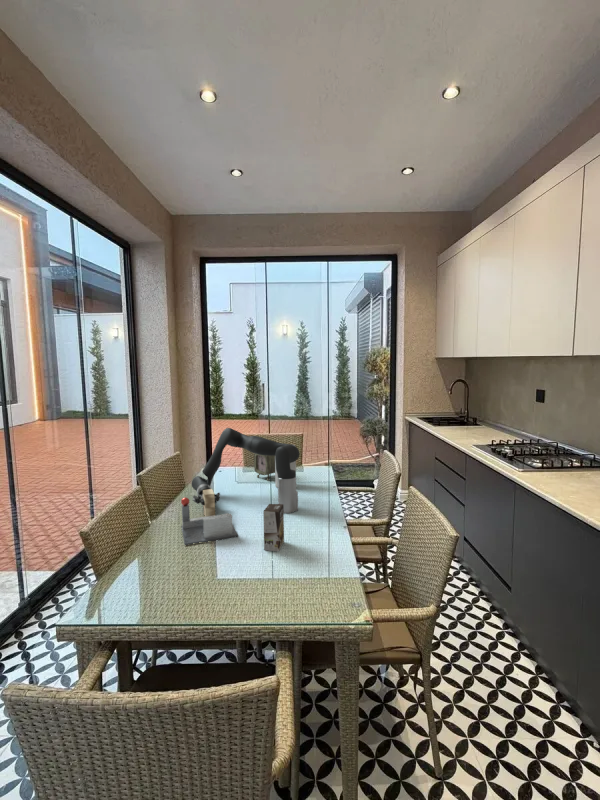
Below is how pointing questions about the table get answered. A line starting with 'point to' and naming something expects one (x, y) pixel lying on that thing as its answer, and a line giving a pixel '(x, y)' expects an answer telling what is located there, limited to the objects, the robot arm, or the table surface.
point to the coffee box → (273, 527)
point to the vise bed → (198, 535)
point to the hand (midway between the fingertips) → (209, 502)
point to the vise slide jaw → (186, 517)
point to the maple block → (209, 502)
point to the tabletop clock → (264, 465)
